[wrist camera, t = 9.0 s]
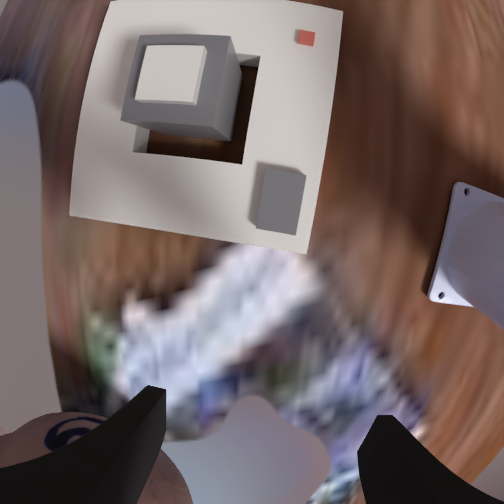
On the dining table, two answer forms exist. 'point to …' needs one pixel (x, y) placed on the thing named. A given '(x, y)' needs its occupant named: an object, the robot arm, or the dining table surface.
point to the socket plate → (258, 135)
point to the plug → (184, 86)
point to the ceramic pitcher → (73, 427)
